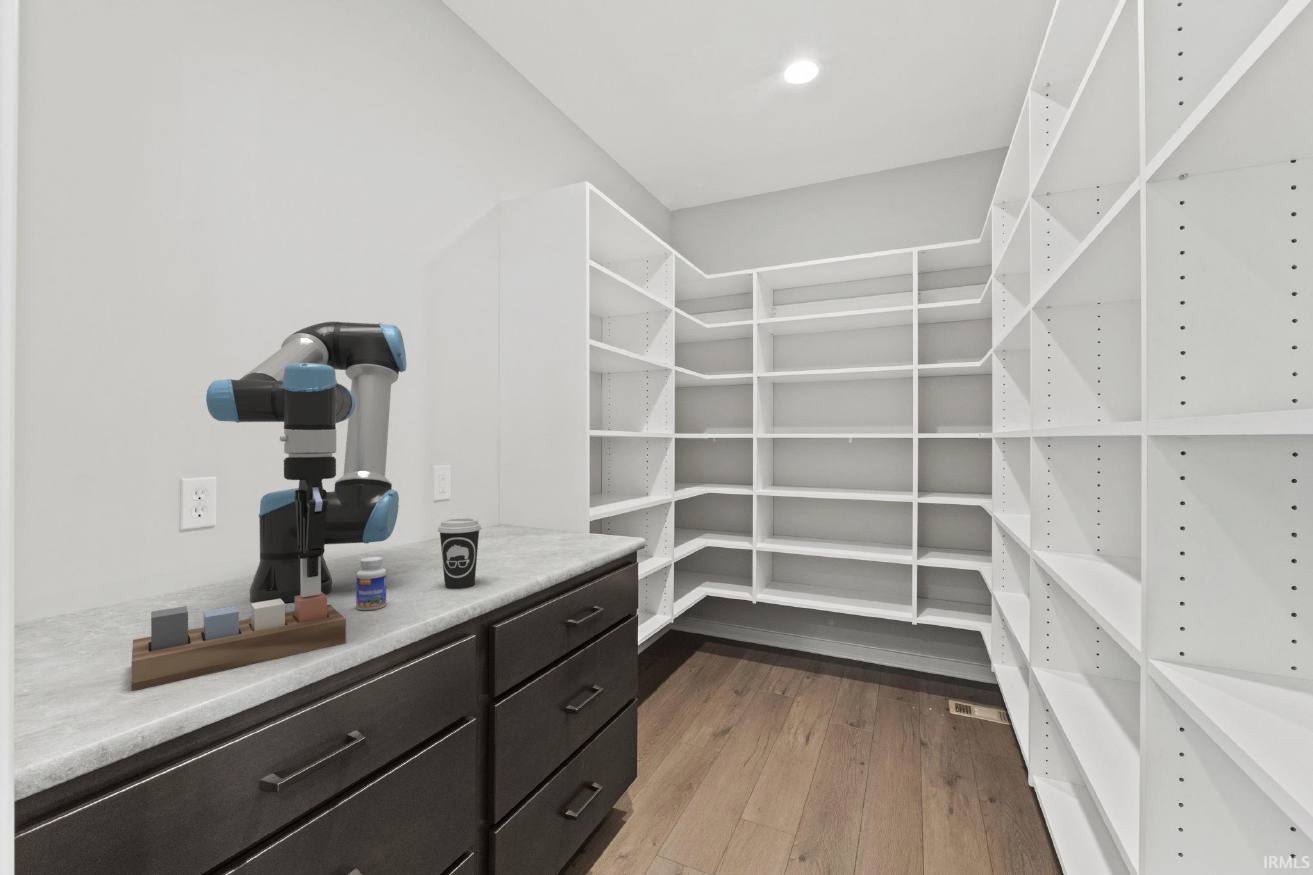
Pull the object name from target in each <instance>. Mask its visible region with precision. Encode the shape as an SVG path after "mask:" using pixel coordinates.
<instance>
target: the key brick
mask: <svg viewBox="0 0 1313 875" xmlns="http://www.w3.org/2000/svg"><path fill="white" fill-rule="evenodd" d="M327 605H328V596H327V595H326V594H324V593H323V592H321V594H320V595H314V596H308V597H301V595H299V596H295V601H294V611H295V620H296V621H297V622H298V623H300V622H305V621H311V620H316V619H321V618H326V617H327Z"/></svg>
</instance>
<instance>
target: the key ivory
mask: <svg viewBox="0 0 1313 875" xmlns="http://www.w3.org/2000/svg"><path fill="white" fill-rule="evenodd" d="M250 610H251V611H250V615H251V616H250V619H251V629H252V631H253V632H254V631H259V630H264V629H269V628H274V627H280V626H285V612H286V602H285V603H284V602H283V601H282V600H281V599H275V600H269V601H263V602H251V603H250Z"/></svg>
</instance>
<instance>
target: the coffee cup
mask: <svg viewBox="0 0 1313 875" xmlns="http://www.w3.org/2000/svg"><path fill="white" fill-rule="evenodd" d="M478 520H479V519H478V518H470V517H460V518H450V519H449V518H448V519H444V520H441V522H440V525H439V526H438V529H437V532H439V538H440V547H441V557H442V567H443V568H442V569H443V582H444V587H445V589H449V590H461V589H467V588H472V587H473V586H474V585H475V584H476V570H477V560H478V559H477V558H478V548H479V538H480V537H479V536H480V530H482V526H481V524H480V523H479V521H478Z"/></svg>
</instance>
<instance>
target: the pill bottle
mask: <svg viewBox="0 0 1313 875" xmlns="http://www.w3.org/2000/svg"><path fill="white" fill-rule="evenodd" d="M383 562H384V559H383V557H378V556H373V557H364V558H362V559H360V564H359V565H360V566H359V567H361V569H360V570H358V571H357V572H356V581H355V582H356V586H355V587H356V588H355V589H356V590H355V592H356V593H355V596H356V597H355V601H356V602H355V607H356V610H358V611H374V610H378V609H382V608H383V607H385V606H386V605H387V570H386V568H384V567H383V564H384V563H383Z"/></svg>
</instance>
